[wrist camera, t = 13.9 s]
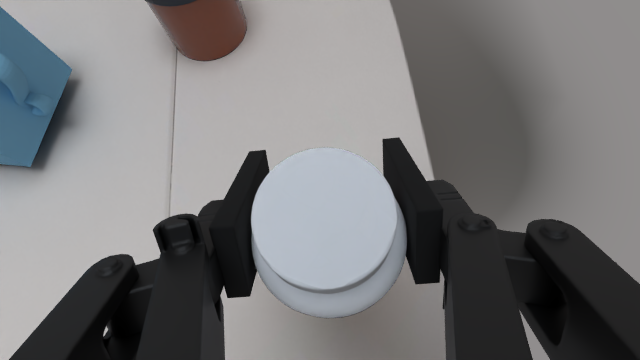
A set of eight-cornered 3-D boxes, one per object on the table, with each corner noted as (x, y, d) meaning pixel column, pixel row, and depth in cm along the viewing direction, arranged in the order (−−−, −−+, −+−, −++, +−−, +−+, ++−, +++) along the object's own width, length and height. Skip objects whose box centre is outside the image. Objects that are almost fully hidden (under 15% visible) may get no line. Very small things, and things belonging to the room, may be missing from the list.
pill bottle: (397, 224, 19) (443, 147, 10) (374, 329, 17) (403, 352, 8) (301, 200, 20) (261, 107, 11) (270, 297, 18) (192, 285, 9)
